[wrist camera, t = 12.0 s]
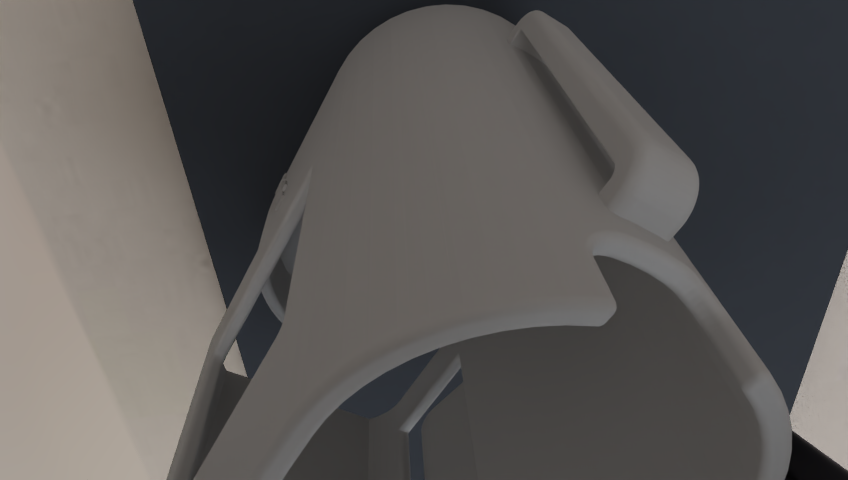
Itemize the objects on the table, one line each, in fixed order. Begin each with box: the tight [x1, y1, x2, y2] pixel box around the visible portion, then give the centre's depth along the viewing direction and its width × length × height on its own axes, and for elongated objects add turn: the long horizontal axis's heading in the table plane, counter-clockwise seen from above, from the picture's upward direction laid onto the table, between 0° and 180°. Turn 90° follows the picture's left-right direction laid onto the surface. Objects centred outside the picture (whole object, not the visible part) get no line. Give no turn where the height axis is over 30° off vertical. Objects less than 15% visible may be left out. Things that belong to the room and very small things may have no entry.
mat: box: [133, 0, 848, 480], centre depth 20 cm, size 20×24×1 cm
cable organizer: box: [167, 4, 792, 480], centre depth 13 cm, size 7×12×12 cm, turn 150°
